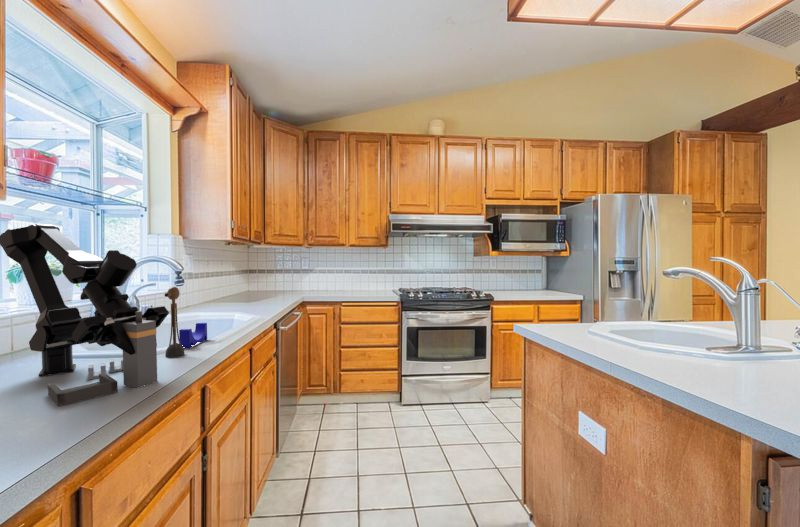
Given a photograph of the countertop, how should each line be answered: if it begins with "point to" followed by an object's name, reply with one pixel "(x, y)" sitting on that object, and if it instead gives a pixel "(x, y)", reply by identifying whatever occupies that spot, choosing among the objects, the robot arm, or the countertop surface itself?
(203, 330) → the cable clip
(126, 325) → the connector
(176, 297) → the wooden tabletop sculpture
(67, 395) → the dark grey square tray
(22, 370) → the countertop surface
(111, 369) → the clips
